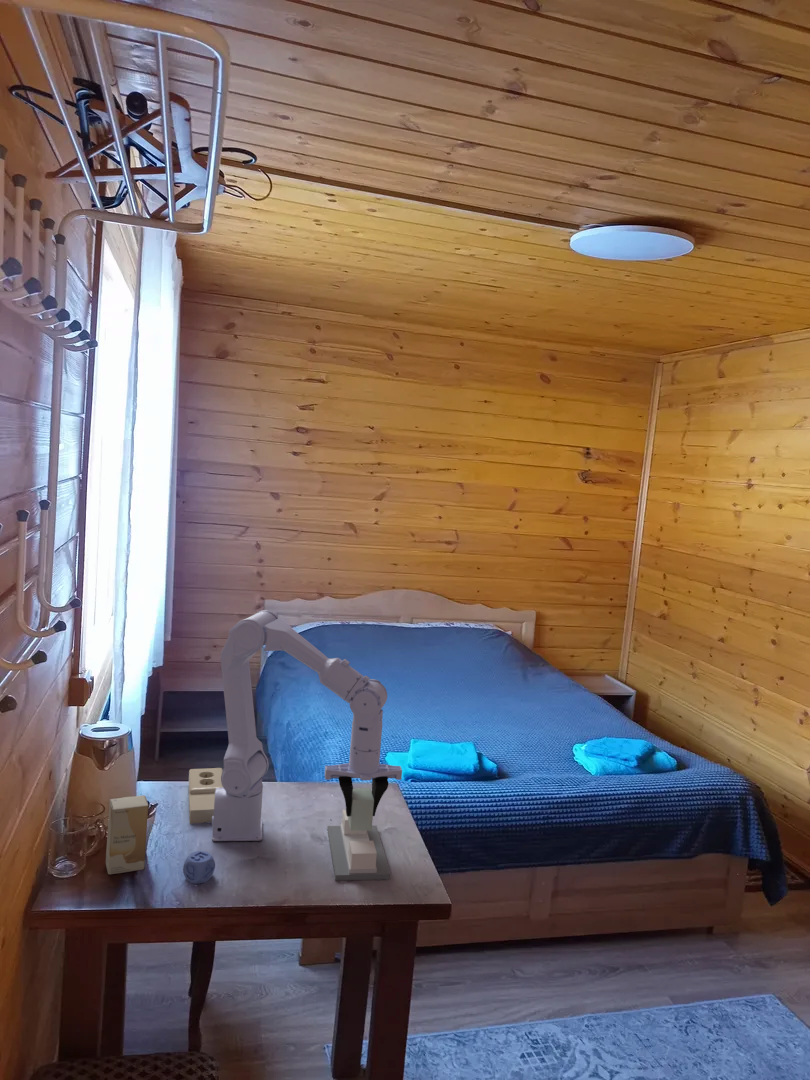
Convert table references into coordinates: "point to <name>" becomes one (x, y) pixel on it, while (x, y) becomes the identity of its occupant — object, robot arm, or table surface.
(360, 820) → the block
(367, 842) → the rail board
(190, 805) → the electrical outlet
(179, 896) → the table surface
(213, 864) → the decorative dice
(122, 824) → the skincare box
